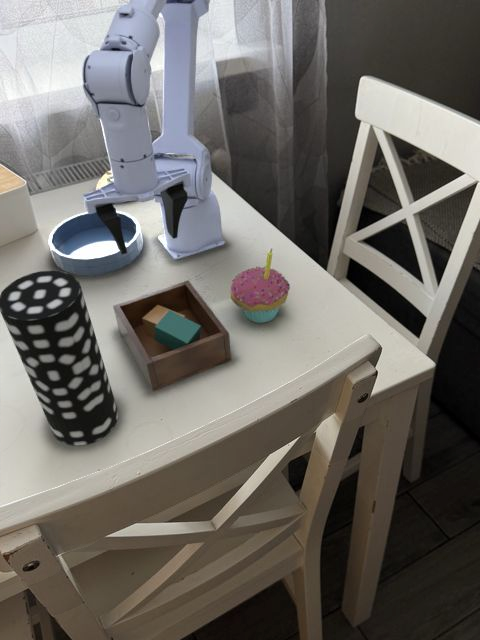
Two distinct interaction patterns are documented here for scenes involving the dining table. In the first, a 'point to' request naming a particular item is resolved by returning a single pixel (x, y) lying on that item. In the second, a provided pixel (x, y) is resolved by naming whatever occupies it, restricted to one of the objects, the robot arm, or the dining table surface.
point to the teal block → (176, 331)
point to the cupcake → (260, 292)
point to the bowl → (93, 244)
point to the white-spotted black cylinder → (60, 354)
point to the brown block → (155, 319)
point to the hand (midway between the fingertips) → (148, 242)
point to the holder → (161, 360)
